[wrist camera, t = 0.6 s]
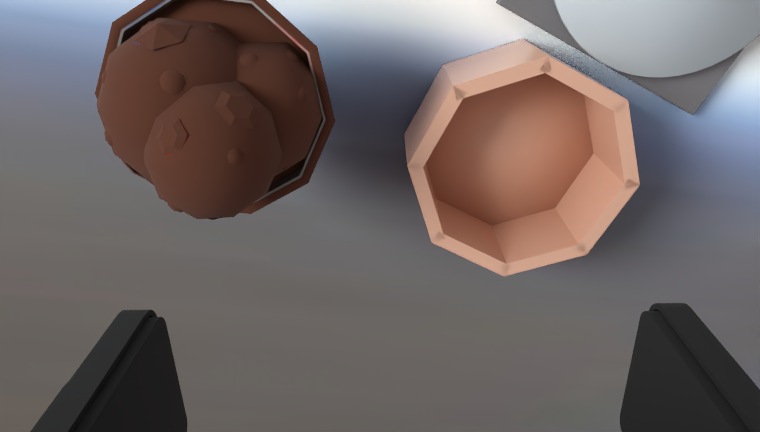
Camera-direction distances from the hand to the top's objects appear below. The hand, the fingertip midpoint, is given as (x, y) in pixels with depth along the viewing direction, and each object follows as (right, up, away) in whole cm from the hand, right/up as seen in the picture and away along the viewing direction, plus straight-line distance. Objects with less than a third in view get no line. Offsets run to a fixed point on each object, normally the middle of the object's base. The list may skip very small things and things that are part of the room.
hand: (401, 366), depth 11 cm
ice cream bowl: (-8, +12, +24) cm, 28 cm away
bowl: (+8, +8, +26) cm, 28 cm away
